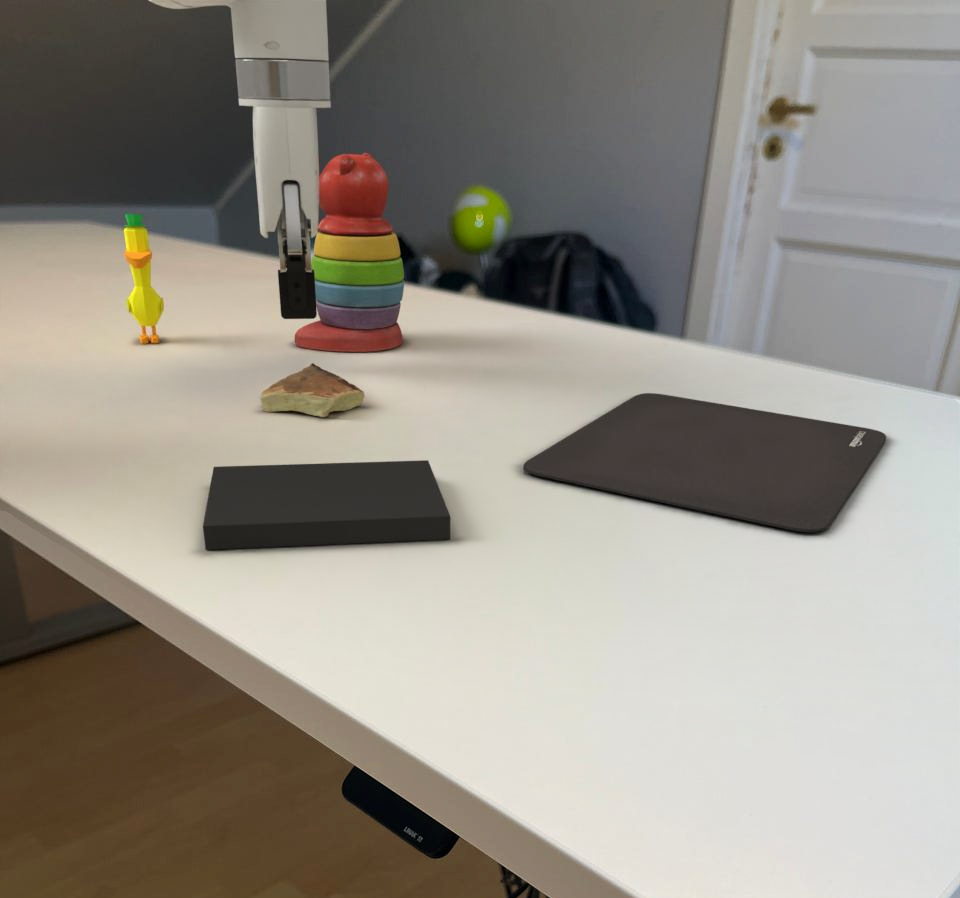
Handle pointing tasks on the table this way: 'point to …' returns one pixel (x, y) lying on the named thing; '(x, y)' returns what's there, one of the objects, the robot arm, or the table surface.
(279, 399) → the shard
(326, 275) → the stacking bear
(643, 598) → the table surface
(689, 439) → the mouse pad
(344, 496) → the black rectangular block
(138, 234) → the toy figure
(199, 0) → the robot arm
